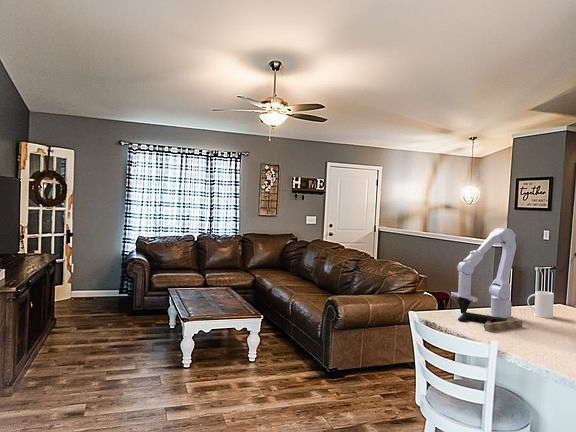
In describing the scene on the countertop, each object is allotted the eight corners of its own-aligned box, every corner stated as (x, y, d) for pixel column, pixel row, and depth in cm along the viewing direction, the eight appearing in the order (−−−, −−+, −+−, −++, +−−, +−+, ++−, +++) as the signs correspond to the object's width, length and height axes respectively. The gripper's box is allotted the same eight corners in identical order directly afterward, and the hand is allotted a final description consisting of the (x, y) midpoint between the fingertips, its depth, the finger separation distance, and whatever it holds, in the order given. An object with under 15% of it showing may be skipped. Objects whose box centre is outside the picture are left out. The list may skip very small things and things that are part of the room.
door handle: (502, 326, 195) (508, 317, 208) (455, 318, 206) (463, 310, 219) (501, 333, 195) (508, 324, 208) (454, 325, 206) (463, 316, 220)
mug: (526, 315, 224) (527, 292, 224) (526, 312, 232) (527, 289, 232) (553, 319, 219) (554, 295, 218) (552, 315, 226) (554, 292, 226)
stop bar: (518, 325, 204) (518, 319, 204) (522, 326, 202) (522, 320, 202) (484, 330, 195) (484, 323, 194) (488, 331, 193) (488, 324, 193)
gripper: (447, 283, 223) (446, 310, 224) (470, 289, 210) (469, 317, 211) (457, 283, 226) (456, 309, 227) (481, 288, 213) (479, 316, 214)
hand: (463, 313), depth 219 cm, fingers closed
